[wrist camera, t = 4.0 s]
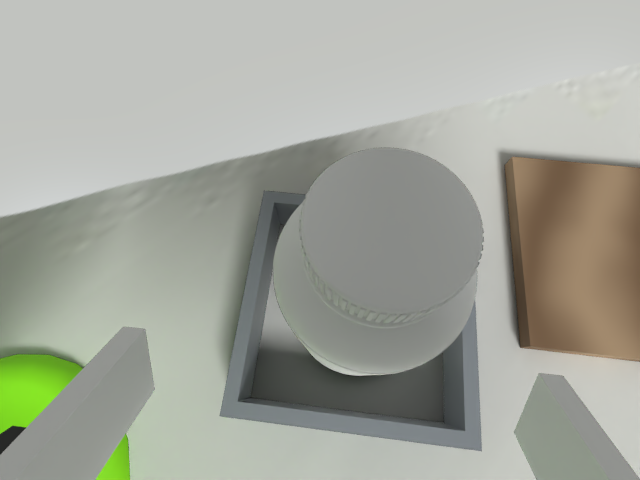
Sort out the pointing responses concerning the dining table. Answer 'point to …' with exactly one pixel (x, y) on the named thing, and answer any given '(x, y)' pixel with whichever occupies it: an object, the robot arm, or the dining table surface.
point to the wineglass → (45, 399)
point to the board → (576, 256)
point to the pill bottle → (379, 262)
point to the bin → (237, 403)
